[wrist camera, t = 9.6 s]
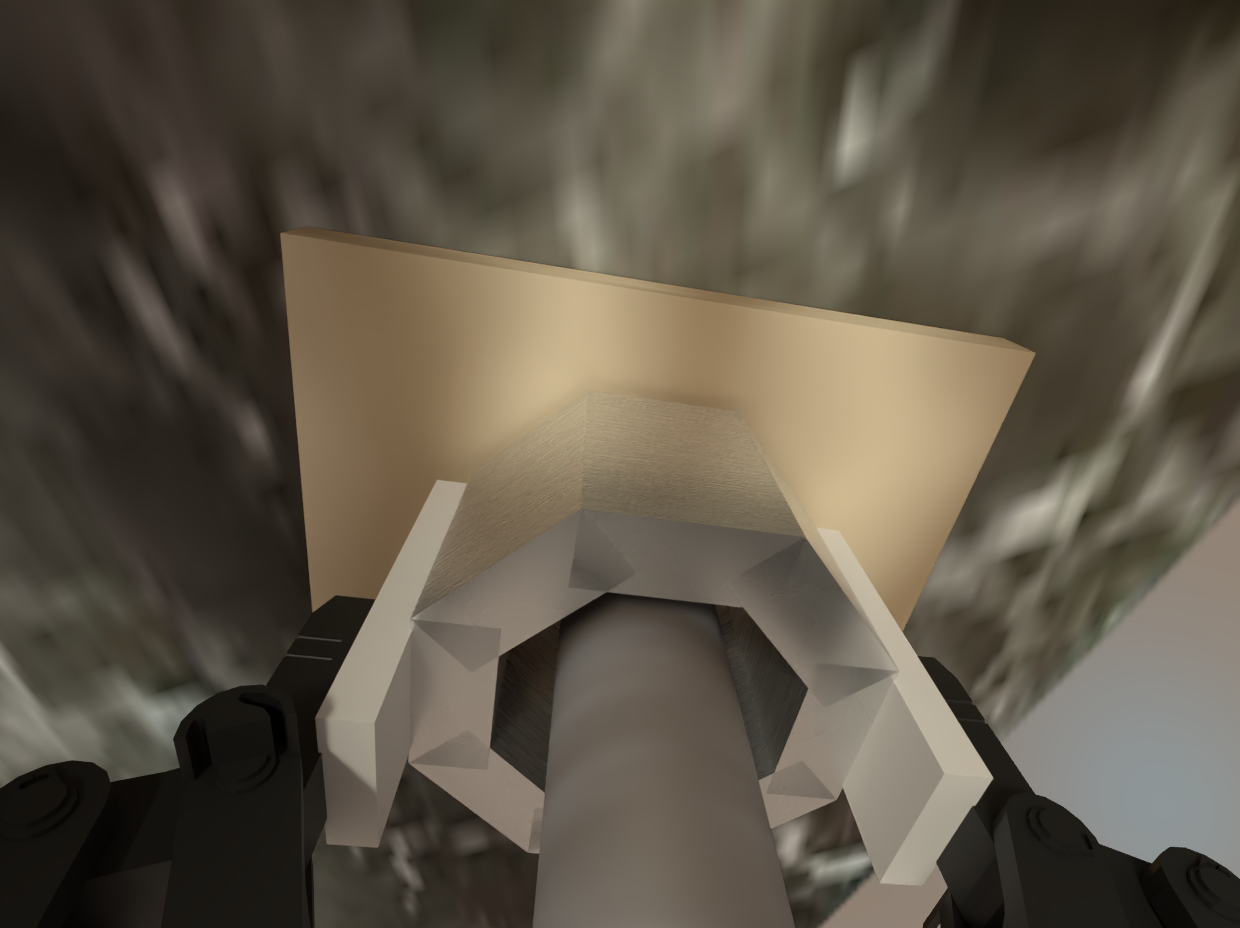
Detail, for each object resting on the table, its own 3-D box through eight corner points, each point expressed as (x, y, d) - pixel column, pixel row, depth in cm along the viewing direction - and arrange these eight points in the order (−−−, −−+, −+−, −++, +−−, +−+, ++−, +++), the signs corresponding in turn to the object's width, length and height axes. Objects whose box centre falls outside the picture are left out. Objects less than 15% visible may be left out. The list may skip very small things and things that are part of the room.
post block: (334, 647, 18) (13, 1238, 8) (306, 226, 13) (-674, 468, 3) (842, 697, 20) (1084, 1249, 10) (1003, 338, 14) (1889, 746, 5)
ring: (460, 657, 16) (407, 844, 12) (478, 373, 13) (411, 487, 8) (749, 686, 17) (801, 872, 13) (840, 425, 14) (955, 556, 9)
